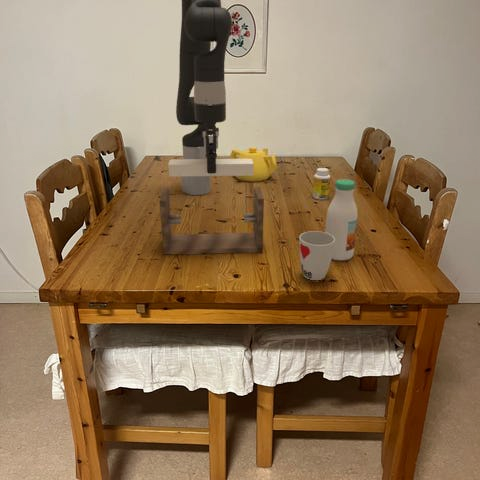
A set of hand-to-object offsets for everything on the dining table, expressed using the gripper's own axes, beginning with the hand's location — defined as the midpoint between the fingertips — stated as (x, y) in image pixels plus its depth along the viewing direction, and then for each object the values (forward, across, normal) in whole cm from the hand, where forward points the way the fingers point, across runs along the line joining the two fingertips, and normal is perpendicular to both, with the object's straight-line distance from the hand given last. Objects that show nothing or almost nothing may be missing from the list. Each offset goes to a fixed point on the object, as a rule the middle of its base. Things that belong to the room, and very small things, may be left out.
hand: (211, 169), depth 118 cm
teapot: (+22, -64, +16) cm, 70 cm away
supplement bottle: (+22, -38, +38) cm, 58 cm away
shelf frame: (+21, 0, 0) cm, 21 cm away
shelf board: (+1, 0, 0) cm, 1 cm away
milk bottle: (+22, +8, +33) cm, 40 cm away
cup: (+21, +19, +24) cm, 37 cm away
